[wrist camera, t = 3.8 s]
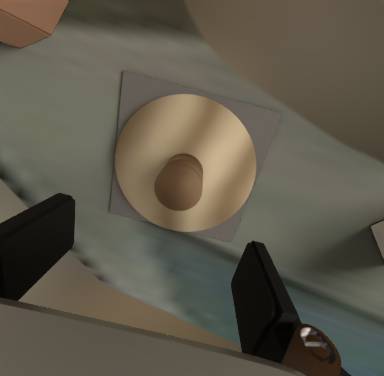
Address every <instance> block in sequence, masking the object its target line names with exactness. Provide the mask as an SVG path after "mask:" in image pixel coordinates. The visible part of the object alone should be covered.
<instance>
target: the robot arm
mask: <svg viewBox="0 0 384 376" xmlns="http://www.w3.org/2000/svg"><path fill="white" fill-rule="evenodd" d="M74 225H75V200H74V199H73V198H72V196H70V195H66V194H62V193H58V194H56V195H54V196H52V197H50V198H48V199H46V200H44V201H42V202H40V203H39V204H37V205H35V206H33V207H31V208H29V209H27V210H25V211H23V212H21V213H19V214H17V215H16V216H14V217H12V218H10V219H8V220H6V221H4V222H2V223H1V224H0V376H351V375H350V374H348V373H347V372H346V371H345V370H344V369H343V368H342V367H341V358H340V355H339V353H338V350H337V349H336V347H335V346H334V344H333V343H332V342H331V340H330V339H329V338H328V337H327V336H326V335H325V334H324V333H323V332H321V331H320V330H319V329H317V328H315V327H314V326H311V325H309V324H304V323H303V324H302V323H301V321H300V319H299V317H298V313H297V311H296V309H295V307H294V305H293V303H292V301H291V299H290V297H289V295H288V293H287V291H286V288H285V286H284V284H283V282H282V280H281V278H280V276H279V274H278V272H277V270H276V268H275V266H274V264H273V261H272V259H271V257H270V255H269V253H268V251H267V249H266V247H265V245H264V244H263V243H260V242H256V241H252V242H251V243H248V244H247V246H246V248H245V250H244V253H243V255H242V257H241V260H240V262H239V264H238V267H237V269H236V271H235V274H234V276H233V278H232V282H231V288H232V294H233V300H234V306H235V312H236V318H237V324H238V330H239V336H240V342H241V348H242V353H241V352H237V351H233V350H229V349H225V348H221V347H217V346H213V345H209V344H204V343H200V342H196V341H192V340H187V339H183V338H179V337H175V336H170V335H166V334H162V333H157V332H153V331H148V330H144V329H140V328H135V327H131V326H127V325H122V324H118V323H113V322H109V321H104V320H100V319H96V318H91V317H87V316H82V315H78V314H73V313H68V312H64V311H60V310H55V309H50V308H46V307H41V306H37V305H33V304H28V303H23V302H19V301H18V300H19V299H20V298H21V297H22V296H23V295H24V294H25V293H26V292H27V291H28V290H29V289H30V288H31V287H32V286H33V285H34V284H35V283H36V282H37V281H38V280H39V279H40V278H41V277H42V276H43V275H44V274H45V273H46V272H47V271H48V270H49V269H50V268H51V267H52V266H53V265H54V264H55V263H56V262H57V261H59V259H61V257H62V256H64V255H65V253H67V252H68V251H69V250H70V249H71V247H72V246H73V243H74Z"/></svg>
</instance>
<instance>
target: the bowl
mask: <svg viewBox="0 0 384 376" xmlns="http://www.w3.org/2000/svg"><path fill="white" fill-rule="evenodd" d="M68 2H69V1H68V0H0V43H3V44H6V45H10V46H14V47H17V48H23V47H25V46H28V45H30V44H32V43H35V42H37V41H39V40H42V39H44V38H46V37H49V36H50V34H51V35H52V33H53V31H54V29H55V27H56V25H57V23H58V21H59V19H60V17H61V15H62V14H63V12H64V10H65V8H66V6H67V4H68Z"/></svg>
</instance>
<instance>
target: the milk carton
mask: <svg viewBox="0 0 384 376" xmlns="http://www.w3.org/2000/svg"><path fill="white" fill-rule="evenodd" d="M371 229H372V232H373V234H374V237H375V239H376V242H377V244H378V247H379V249H380V252H381V254H382V257H383V259H384V221H381V222H379V223H376V224H374V225H372V226H371Z"/></svg>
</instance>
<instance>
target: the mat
mask: <svg viewBox="0 0 384 376" xmlns="http://www.w3.org/2000/svg"><path fill="white" fill-rule="evenodd" d="M176 94H192V95H197V96H203V97H205V98H208V99H211V100H214V101H215V102H217V103H219V104H221V105H223V106H224V107H226V108H227V109H228V110H230V111H231V112H232V113H233V114H234V115H235V116H236V117H237V118H238V119H239V120H240V121H241V123H242V124H243V125H244V126H245V128H246V130H247V132H248V133H249V135H250V138H251V140H252V143H253V146H254V150H255V155H256V175H255V180H254V184H255V182H256V179H257V177H258V174H259V172H260V169H261V167H262V164H263V162H264V159H265V157H266V154H267V152H268V149H269V147H270V144H271V142H272V139H273V137H274V134H275V132H276V129H277V127H278V124H279V122H280V119H281V117H282V114H283V113H280V112H276V111H272V110H269V109H265V108H261V107H258V106H254V105H250V104H247V103H243V102H239V101H236V100H232V99H228V98H225V97H221V96H217V95H214V94H210V93H206V92H203V91H199V90H195V89H192V88H188V87H184V86H180V85H177V84H173V83H169V82H166V81H162V80H158V79H155V78H151V77H147V76H144V75H140V74H136V73H133V72H129V71H125V70H123V78H122V89H121V99H120V109H119V120H118V130H117V140H116V147H117V143H118V140H119V137H120V134H121V132H122V130H123V128H124V127H125V125H126V124H127V122H128V121H129V119H130V118H131V117H132V116H133V115H134V114H135V113H136V112H137V111H138V110H140V109H141V108H142V107H143V106H145V105H147V104H148V103H150V102H152V101H154V100H156V99H159V98H161V97H165V96H169V95H176ZM115 153H116V151H115ZM254 184H253V187H254ZM253 187H252V189H253ZM251 192H252V190H251ZM251 192H250V194H251ZM250 194H249V196H248V198H247V199H246V201H245V203H244V204H243V205H242V207H241V208H240V209H239V210H238V211H237V212H236V213H235V214H234V215H233V216H232V217H230V218H229V219H227V220H226V221H224V222H223V223H221V224H219V225H217V226H214V227H212V228H209V229H205V230H201V231H192V232H191V233H195V234H199V235H203V236H207V237H211V238H215V239H219V240H223V241H227V242H232V239H233V237H234V234H235V232H236V229H237V227H238V224H239V222H240V219H241V217H242V214H243V212H244V209H245V207H246V204H247V202H248V199H249V197H250ZM110 212H111V213H115V214H119V215H123V216H127V217H131V218H135V219H139V220H143V221H147V222H151V221H149V220H147V219H146V218H145V217H143V216H142V215H141V214H140V213H138V212H137V211H136V210H135V209H134V208H133V206H132V205H131V204H130V203H129V202H128V200H127V199H126V197H125V196H124V194H123V192H122V190H121V187H120V185H119V182H118V179H117V175H116V168H115V161H114V172H113V182H112V192H111V203H110ZM151 223H152V222H151Z"/></svg>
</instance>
